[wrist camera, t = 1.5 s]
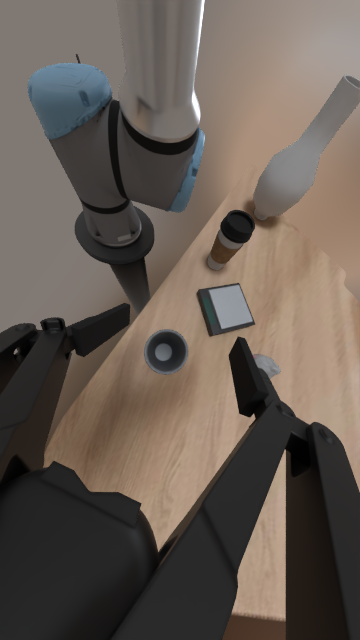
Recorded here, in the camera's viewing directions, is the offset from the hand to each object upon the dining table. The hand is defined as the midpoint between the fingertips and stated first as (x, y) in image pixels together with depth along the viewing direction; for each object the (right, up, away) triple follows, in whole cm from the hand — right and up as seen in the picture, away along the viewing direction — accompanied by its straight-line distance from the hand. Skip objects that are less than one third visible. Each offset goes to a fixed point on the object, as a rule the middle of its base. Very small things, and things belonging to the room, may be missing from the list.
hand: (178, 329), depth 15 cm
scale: (+14, +4, +25) cm, 29 cm away
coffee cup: (+12, +21, +29) cm, 38 cm away
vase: (+35, +47, +40) cm, 71 cm away
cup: (-4, -8, +19) cm, 21 cm away
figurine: (+21, -12, +22) cm, 33 cm away
